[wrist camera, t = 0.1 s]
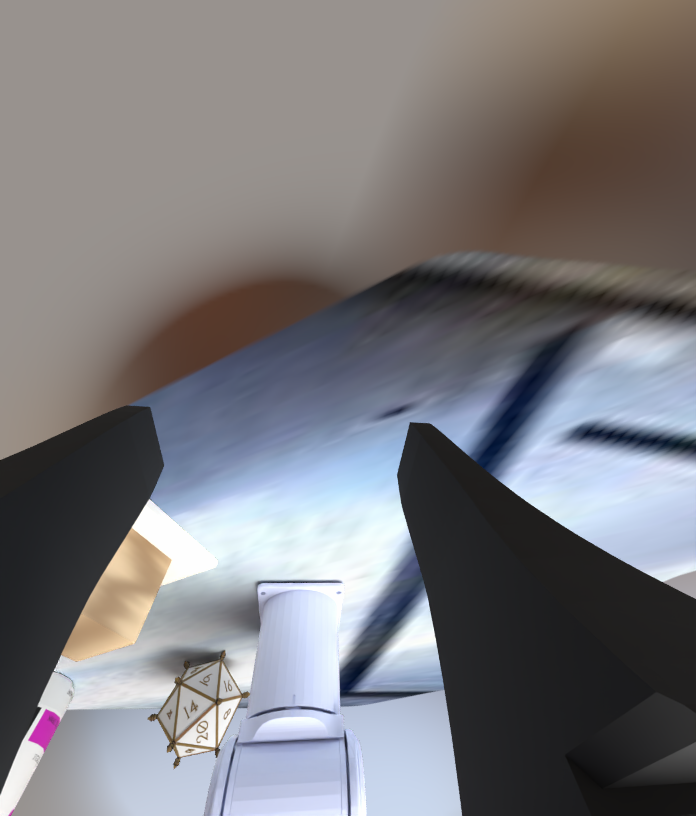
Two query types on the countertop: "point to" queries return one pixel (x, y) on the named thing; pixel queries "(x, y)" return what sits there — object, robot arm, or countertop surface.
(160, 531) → the tile
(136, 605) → the oak cube
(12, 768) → the supplement can
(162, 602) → the countertop surface
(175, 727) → the game die
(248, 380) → the countertop surface
